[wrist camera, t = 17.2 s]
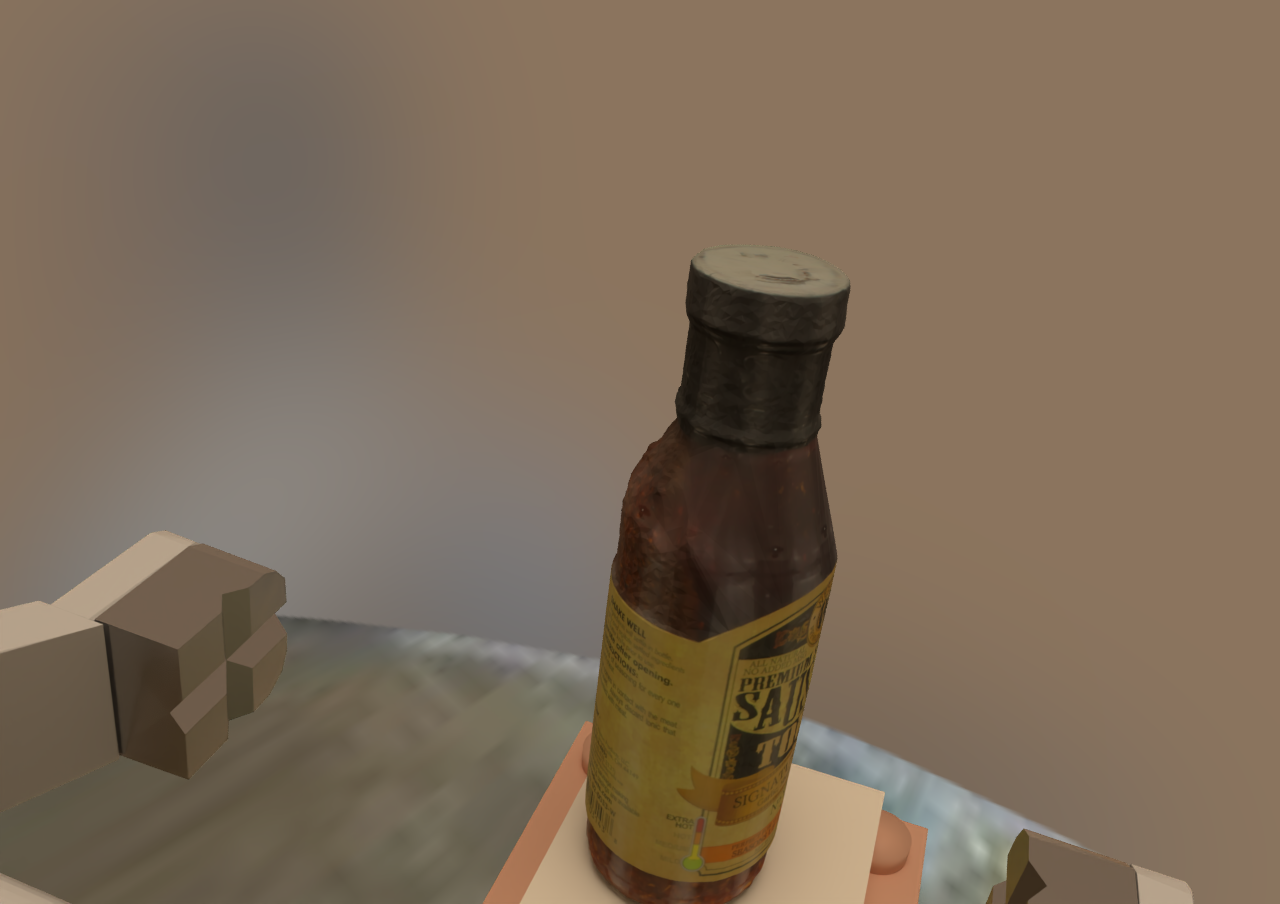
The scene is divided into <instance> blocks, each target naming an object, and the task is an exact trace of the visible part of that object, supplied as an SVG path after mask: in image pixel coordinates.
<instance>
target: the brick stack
mask: <svg viewBox="0 0 1280 904" xmlns="http://www.w3.org/2000/svg"><path fill="white" fill-rule="evenodd" d="M592 727H593V723H591V722H587V721H586V722H585V724H584V725H583V727H582V729H581V731H580V732H579V734H578V736H577V738H576V739H575V741H574V743H573V745H572V747H571V748H570V750H569V752H568V754H567V755H566V757H565V759H564V761H563V762H562V764H561V766H560V768H559V769H558V771H557V773H556V775H555V777H554V778H553V780H552V782H551V784H550V785H549V787H548V789H547V791H546V792H545V794H544V796H543V798H542V800H541V801H540V803H539V805H538V807H537V808H536V810H535V812H534V814H533V815H532V817H531V819H530V821H529V823H528V824H527V826H526V828H525V830H524V831H523V833H522V835H521V837H520V838H519V840H518V842H517V844H516V845H515V847H514V849H513V851H512V853H511V854H510V856H509V858H508V860H507V861H506V863H505V865H504V867H503V868H502V870H501V872H500V874H499V876H498V877H497V879H496V881H495V883H494V884H493V886H492V888H491V890H490V891H489V893H488V895H487V897H486V899H485V900H484V902H483V904H641V903H639V902H636V901H634V900H632V899H628V898H626V897H625V895H623V894H622V893H620V892H619V891H618V890H617V889H615V888H613V887H612V886H610V885H609V884H608V882H607V881H606V880H605V878H604V876H603V875H602V874H601V873H600V872H599V871H598V869H597V868H596V865H595V864H594V862H593V859H592V856H591V851H590V849H589V844H588V838H587V835H586V828H587V818H588V817H587V812H586V805H585V794H586V782H587V772H588V763H589V753H590V745H591V736H592ZM884 794H885V792H882V791H879V790H876V789H873V788H870V787H866V786H863V785H860V784H857V783H853V782H850V781H847V780H844V779H841V778H837V777H834V776H831V775H828V774H824V773H821V772H818V771H815V770H812V769H808V768H805V767H802V766H799V765H795V764H792V763H791V768H790V772H789V777H788V781H787V786H786V790H785V795H784V799H783V803H782V808H781V812H780V816H779V820H778V825H777V830H776V833H775V837H774V839H773V842H772V844H771V846H770V847H769V849H768V850H767V854H766V857H765V860H764V864H763V866H762V869H761V871H760V872H759V873H758V874H757V876H756V877H755V878H754V880H753V882H752V884H751V885H750V887H749V888H747V889H745V890H744V891H743V892H742V893H741V894H740V895H738V896H737V897H735V898H733V899H732V900H731V901H729V902H727V903H725V904H918V898H919V891H920V884H921V876H922V869H923V862H924V854H925V847H926V840H927V832H928V829H927V828H924V827H921V826H917V825H914V824H911V823H908V822H905V821H901V820H900V819H899V818H897V817H896V816H894V815H893V814H891V813H889V812H887V811H884V810H882V805H883V799H884Z"/></svg>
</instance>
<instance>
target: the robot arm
mask: <svg viewBox="0 0 1280 904" xmlns="http://www.w3.org/2000/svg"><path fill="white" fill-rule="evenodd" d="M285 603H286V587H285V578H284V577H283V576H281V575H280V574H279V573H278V572H277V571H275V570H272V569H269V568H267V567H263V566H261V565H259V564H256V563H253V562H251V561H248V560H245V559H243V558H240V557H237V556H235V555H232V554H229V553H226V552H224V551H221V550H218V549H216V548H213V547H211V546H208V545H205V544H199V543H196V542H194V541H192V540H189V539H186V538H184V537H181V536H178V535H176V534H173V533H171V532H168V531H166V530H165V531H159V532H153V533H150V534H148V535H147V536H146V537H144V538H143V539H141V540H140V541H139V542H137V543H136V544H135V545H133V546H132V547H130V548H129V549H128V550H126V551H125V552H123V553H122V554H121V555H119V556H118V557H116V558H115V559H114V560H112V561H111V562H110V563H108V564H107V565H105V566H104V567H103V568H101V569H100V570H98V571H97V572H96V573H94V574H93V575H91V576H90V577H89V578H87V579H86V580H84V581H83V582H82V583H80V584H79V585H77V586H76V587H75V588H73V589H72V590H70V591H69V592H68V593H66V594H65V595H63V596H62V597H61V598H59V599H58V600H56V601H55V602H54V603H52V604H51V605H49V604H46V603H43V602H41V601H36V602H31V603H27V604H23V605H19V606H15V607H11V608H7V609H2V610H0V813H1V812H3V811H6V810H8V809H10V808H12V807H14V806H17V805H19V804H21V803H23V802H26V801H28V800H30V799H32V798H34V797H37V796H39V795H41V794H43V793H46V792H48V791H50V790H52V789H54V788H57V787H59V786H61V785H63V784H66V783H68V782H70V781H72V780H75V779H77V778H79V777H81V776H83V775H86V774H88V773H90V772H92V771H95V770H97V769H99V768H101V767H103V766H106V765H108V764H110V763H112V762H115V761H117V760H119V755H121V756H124V757H127V758H129V759H132V760H135V761H138V762H140V763H143V764H146V765H149V766H151V767H154V768H157V769H160V770H163V771H165V772H168V773H171V774H174V775H176V776H179V777H182V778H185V779H187V780H189V779H190V778H191V777H192V776H193V775H194V774H195V773H196V772H197V771H198V770H199V769H200V768H201V767H202V766H203V764H204V763H205V762H206V761H207V760H208V759H209V758H210V757H211V756H212V755H213V754H214V753H215V752H216V751H217V750H218V749H219V748H220V747H221V746H222V745H223V744H224V743H225V742H226V741H227V740H228V731H229V721H230V720H232V719H235V718H238V717H241V716H244V715H247V714H250V713H252V712H254V711H255V710H256V709H257V708H258V707H259V706H260V705H261V704H262V703H263V701H264V700H265V699H266V698H267V697H268V696H269V695H270V693H271V691H272V690H273V688H274V686H275V684H276V682H277V680H278V678H279V676H280V674H281V673H282V670H283V666H284V662H285V657H286V653H287V633H286V631H285V629H284V628H283V626H282V625H281V623H280V621H279V620H278V618H277V616H276V615H275V613H276V612H277V611H278V610H279V609H280V608H281V607H282V606H283V605H284V604H285ZM0 904H70V903H68V902H66V901H64V900H61V899H59V898H57V897H54V896H52V895H50V894H47V893H45V892H43V891H41V890H38V889H36V888H34V887H31V886H29V885H27V884H24V883H22V882H20V881H17V880H15V879H13V878H11V877H8V876H6V875H4V874H1V873H0ZM986 904H1194V898H1193V893H1192V891H1191V889H1190V887H1189V886H1188V885H1187V883H1186V882H1184V881H1181V880H1178V879H1175V878H1172V877H1169V876H1166V875H1163V874H1160V873H1157V872H1154V871H1150V870H1148V869H1145V868H1142V867H1139V866H1136V865H1132V864H1131V865H1128V864H1126V863H1125V862H1121V861H1119V860H1116V859H1113V858H1110V857H1107V856H1104V855H1101V854H1098V853H1095V852H1092V851H1089V850H1086V849H1083V848H1080V847H1077V846H1074V845H1071V844H1068V843H1065V842H1062V841H1059V840H1056V839H1053V838H1050V837H1047V836H1044V835H1041V834H1039V833H1036V832H1033V831H1030V830H1027V829H1023V830H1022V831H1021V832H1020V834H1019V835H1018V836H1017V837H1016V839H1015V841H1014V843H1013V845H1012V847H1011V850H1010V852H1009V854H1008V861H1007V880H1006V881H1004V882H1002V883H999V884H997V885H994V886H993V888H992V890H991V893H990V895H989V897H988V900H987V902H986Z"/></svg>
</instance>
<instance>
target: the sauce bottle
mask: <svg viewBox="0 0 1280 904" xmlns="http://www.w3.org/2000/svg"><path fill="white" fill-rule="evenodd" d="M849 293H850V280H849V278H848V277H847V276H846V275H845V274H844V273H843V272H842V271H841V270H840V269H839V268H837V267H836V266H834V265H832V264H831V263H829V262H827V261H825V260H822V259H820V258H818V257H816V256H813V255H810V254H807V253H803V252H799V251H795V250H790V249H786V248H779V247H772V246H758V245H721V246H716V247H711V248H707V249H704V250H703V251H701V252H700V253H698V254H697V255H696V256H695V257H694V258H693V259H692V260H691V265H690V272H689V279H688V283H687V296H686V312H687V316H688V318H689V321H690V324H689V331H688V338H687V345H686V352H685V361H684V368H683V375H682V383H681V386H680V387H679V389H678V392H677V395H676V399H675V404H676V413H677V418H676V420H675V421H673V423H672V424H671V425H670V426H669V427H668V429H667V430H666V432H665V433H664V435H663V436H662V438H661V439H659V440H658V441H656V442H653V443H651V444H650V445H649V446H648V449H647V451H646V452H645V453H644V455H643V457H642V459H641V460H640V461H639V463H638V464H637V466H636V467H635V469H634V470H633V472H632V473H631V477H630V480H629V483H628V488H627V491H626V494H625V497H624V499H623V507H622V510H621V511H622V513H621V523H620V537H619V542H618V549H617V550H618V551H617V554H616V556H615V558H614V560H613V564H612V568H611V576H610V584H609V593H608V600H607V608H606V617H605V625H604V634H603V642H602V651H601V659H600V668H599V677H598V685H597V693H596V701H595V710H594V719H593V727H592V736H591V745H590V753H589V763H588V772H587V782H586V794H585V805H586V812H587V817H588V818H587V828H586V835H587V838H588V844H589V849H590V851H591V856H592V859H593V862H594V864H595V865H596V868H597V869H598V871H599V872H600V873H601V874H602V875H603V876H604V878H605V880H606V881H607V882H608V884H609V885H610V886H612V887H613V888H615V889H617V890H618V891H619V892H620V893H622V894H623V895H625V897H626V898H628V899H632V900H634V901H636V902H639V903H641V904H725V903H727V902H729V901H731V900H732V899H733V898H735V897H737V896H738V895H740V894H741V893H742V892H743V891H744V890H745V889H747V888H749V887H750V885H751V884H752V882H753V880H754V878H755V877H756V876H757V874H758V873H759V872H760V871H761V869H762V866H763V864H764V860H765V857H766V854H767V850H768V849H769V847H770V846H771V844H772V842H773V839H774V837H775V833H776V830H777V825H778V820H779V816H780V812H781V808H782V803H783V799H784V795H785V790H786V786H787V781H788V777H789V772H790V768H791V763H792V759H793V754H794V750H795V746H796V741H797V736H798V732H799V728H800V724H801V720H802V715H803V711H804V706H805V701H806V697H807V693H808V689H809V685H810V681H811V677H812V672H813V667H814V662H815V658H816V653H817V648H818V643H819V638H820V634H821V629H822V625H823V621H824V616H825V612H826V608H827V604H828V600H829V595H830V591H831V586H832V582H833V577H834V572H835V568H836V563H837V550H836V544H835V539H834V532H833V527H832V521H831V515H830V509H829V503H828V498H827V492H826V487H825V481H824V475H823V470H822V464H821V458H820V451H819V445H818V439H817V434H818V431H819V429H820V428H821V416H820V407H821V404H822V396H823V391H824V387H825V379H826V375H827V371H828V366H829V362H830V358H831V351H832V347H833V343H834V342H835V340H836V339H837V338H838V337H839V335H840V334H841V332H842V331H843V329H844V326H845V320H846V311H847V303H848V298H849Z"/></svg>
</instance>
